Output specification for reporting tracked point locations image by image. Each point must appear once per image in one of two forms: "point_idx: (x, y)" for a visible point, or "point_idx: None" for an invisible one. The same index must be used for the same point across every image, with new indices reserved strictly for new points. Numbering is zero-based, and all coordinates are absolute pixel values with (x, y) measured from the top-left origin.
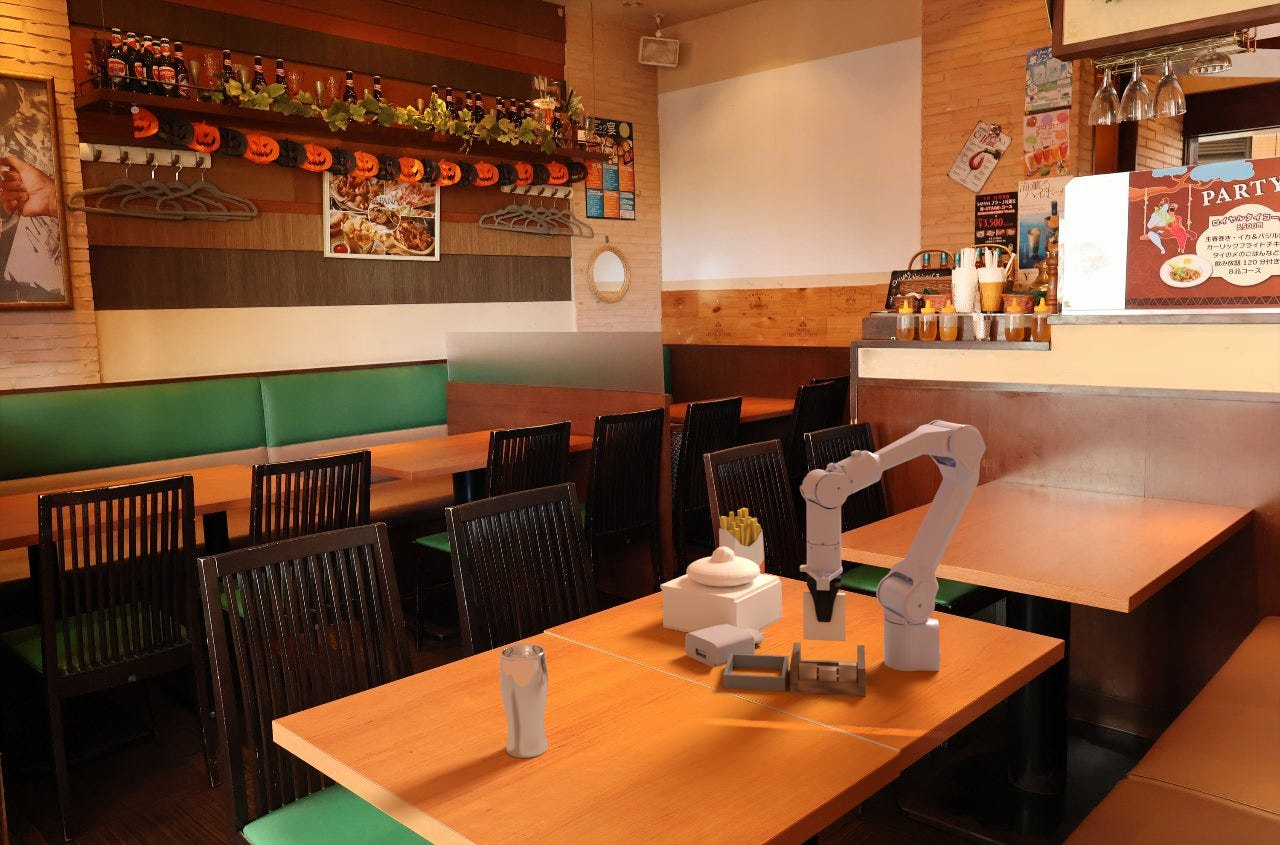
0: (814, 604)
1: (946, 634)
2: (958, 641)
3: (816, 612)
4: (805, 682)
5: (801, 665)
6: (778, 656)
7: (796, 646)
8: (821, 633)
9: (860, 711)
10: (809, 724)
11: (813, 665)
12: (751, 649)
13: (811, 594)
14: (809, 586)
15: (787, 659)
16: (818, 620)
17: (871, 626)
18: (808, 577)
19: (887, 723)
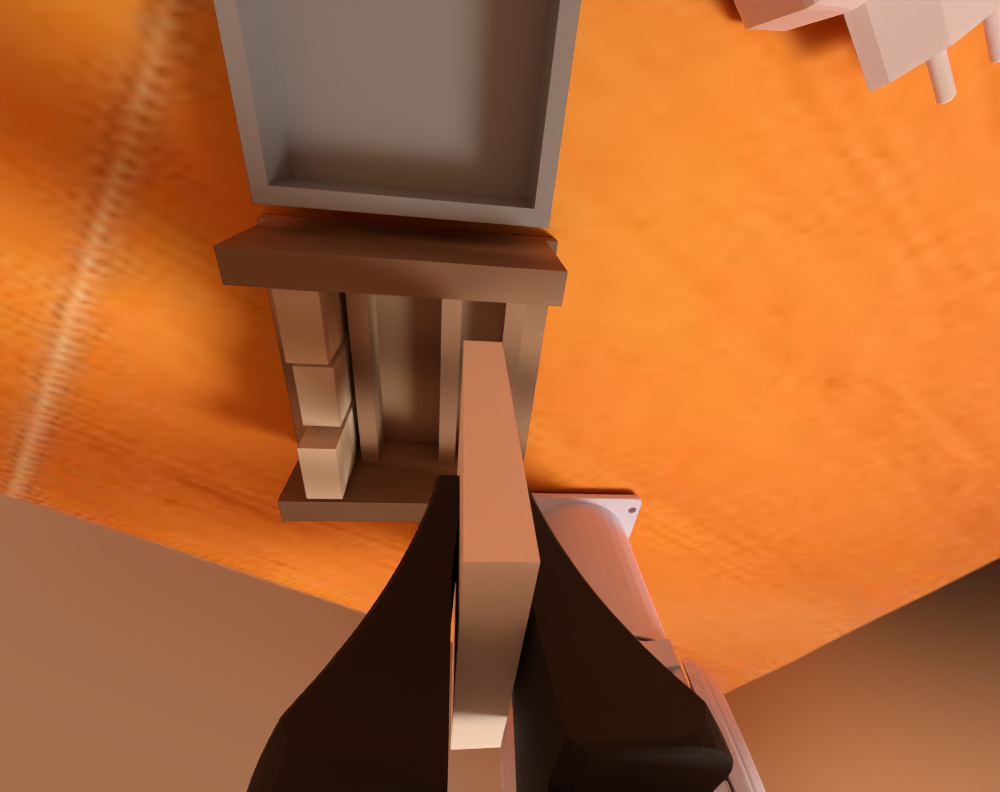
0: (402, 561)
1: (768, 606)
2: (718, 619)
3: (423, 516)
4: (270, 293)
5: (282, 299)
6: (540, 174)
7: (507, 284)
8: (459, 440)
9: (231, 430)
10: (41, 281)
11: (298, 351)
12: (756, 1)
13: (341, 647)
14: (258, 765)
15: (498, 221)
16: (435, 483)
17: (899, 482)
18: (632, 759)
19: (175, 484)
